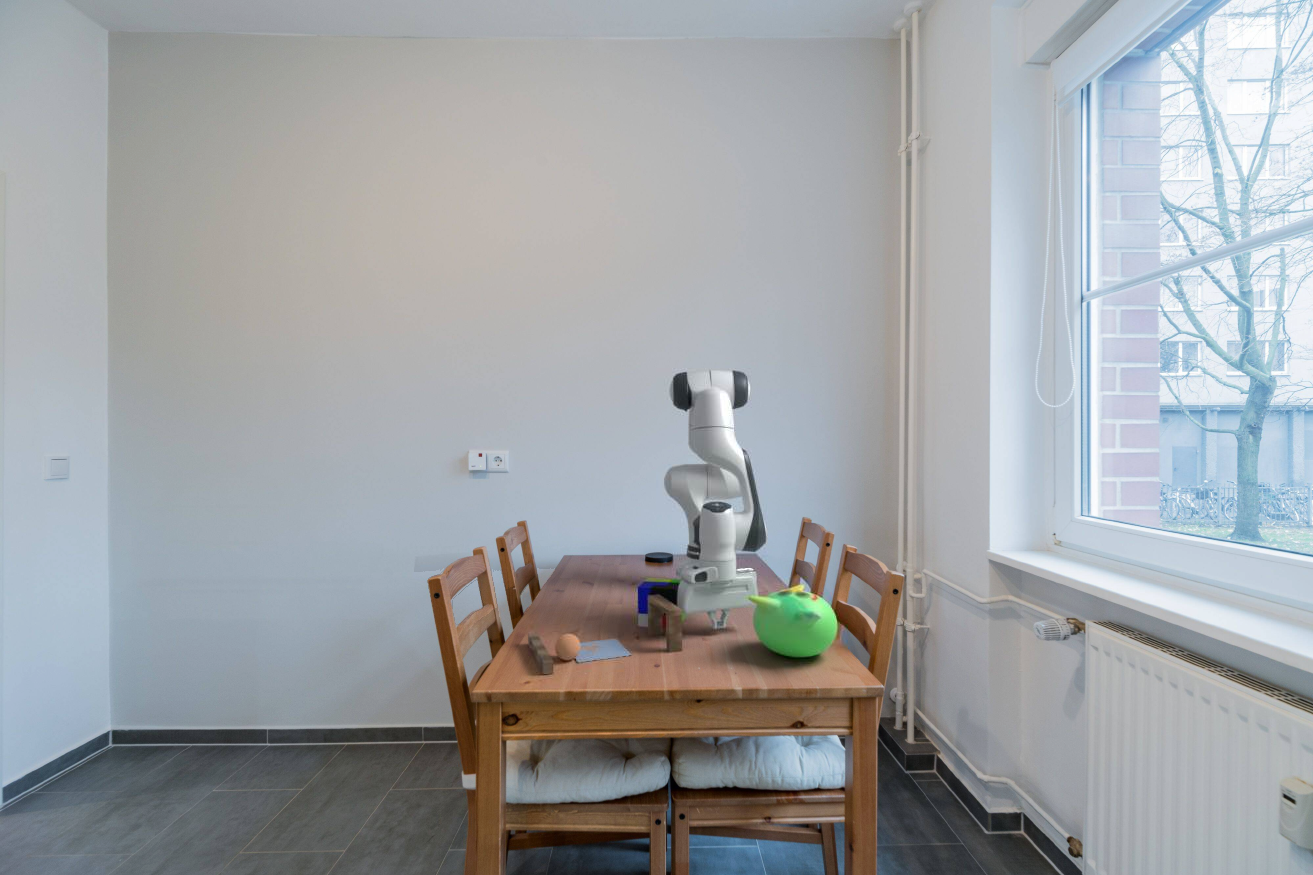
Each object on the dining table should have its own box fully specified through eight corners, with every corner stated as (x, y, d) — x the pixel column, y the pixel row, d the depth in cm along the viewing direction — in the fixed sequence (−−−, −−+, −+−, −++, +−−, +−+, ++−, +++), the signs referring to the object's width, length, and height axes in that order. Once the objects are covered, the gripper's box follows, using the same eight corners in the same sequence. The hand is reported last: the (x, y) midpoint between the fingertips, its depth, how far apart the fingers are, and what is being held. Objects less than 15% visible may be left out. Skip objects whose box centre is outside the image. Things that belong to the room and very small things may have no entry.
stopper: (528, 644, 148) (528, 633, 148) (537, 643, 149) (536, 632, 149) (543, 675, 129) (543, 662, 129) (553, 673, 130) (553, 661, 130)
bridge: (669, 652, 142) (669, 610, 142) (648, 633, 155) (647, 595, 155) (682, 650, 143) (681, 609, 143) (659, 631, 156) (659, 594, 156)
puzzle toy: (638, 626, 161) (637, 587, 161) (648, 615, 171) (647, 578, 171) (676, 629, 159) (676, 588, 159) (684, 617, 168) (684, 579, 168)
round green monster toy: (845, 649, 142) (845, 583, 142) (824, 675, 127) (823, 601, 127) (768, 637, 151) (767, 575, 151) (740, 660, 136) (739, 591, 136)
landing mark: (566, 645, 147) (566, 644, 147) (616, 639, 151) (616, 638, 151) (577, 663, 136) (577, 662, 136) (631, 655, 140) (631, 654, 140)
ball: (579, 645, 142) (555, 656, 140) (573, 625, 140) (549, 635, 139) (586, 658, 137) (562, 669, 135) (580, 637, 136) (555, 647, 134)
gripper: (750, 564, 160) (750, 619, 160) (674, 571, 153) (675, 628, 153) (762, 569, 154) (763, 626, 154) (684, 576, 147) (685, 636, 147)
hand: (718, 627), depth 154 cm, fingers closed
